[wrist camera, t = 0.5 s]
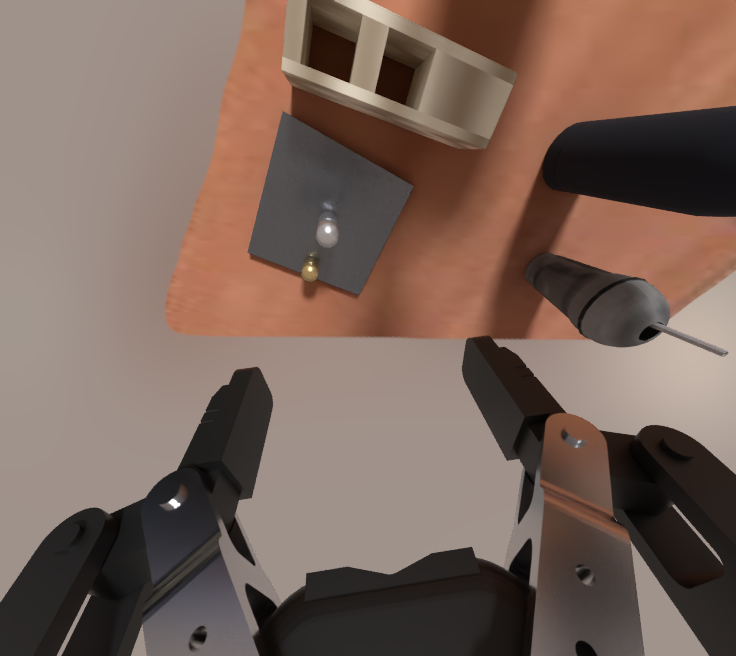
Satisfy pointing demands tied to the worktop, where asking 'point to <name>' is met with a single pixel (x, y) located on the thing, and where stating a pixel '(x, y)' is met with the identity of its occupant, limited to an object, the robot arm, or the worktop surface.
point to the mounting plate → (325, 208)
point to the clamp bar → (412, 48)
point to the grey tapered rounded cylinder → (605, 303)
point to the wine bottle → (651, 161)
